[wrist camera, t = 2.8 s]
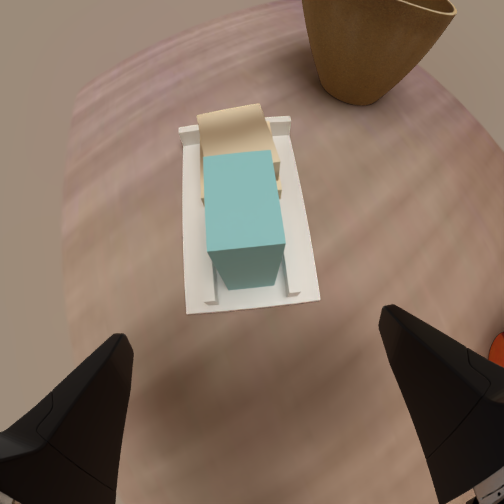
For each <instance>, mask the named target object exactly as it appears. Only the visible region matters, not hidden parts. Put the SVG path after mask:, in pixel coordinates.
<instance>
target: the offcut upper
mask: <svg viewBox="0 0 504 504" xmlns="http://www.w3.org/2000/svg"><path fill="white" fill-rule="evenodd" d="M197 121H198V127H199V133H200V138H201V144H202V150H203V155H204V157H206V156H214V155H222V154H231V153H241V152H251V151H262V150H271V154H272V160H273V166H274V171H275V177H276V181H278V179H279V171H280V162H281V161H280V158H279V156H278V153H277V150H276V147H275V144H274V141H273V139H272V136H271V133H270V130H269V128H268V125H267V122H266V120H265V117H264V114H263V112H262V109H261V106H260V104H259V103H258V104H252V105H246V106H240V107H235V108H229V109H224V110H219V111H214V112H210V113H205V114H201V115H197Z"/></svg>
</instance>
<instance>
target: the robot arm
mask: <svg viewBox="0 0 504 504" xmlns="http://www.w3.org/2000/svg"><path fill="white" fill-rule="evenodd" d="M379 331H380V334H381V337H382V340H383V344H384V347H385V350H386V353H387V357H388V360H389V363H390V366H391V368H392V371H393V373H394V375H395V378H396V380H397V383H398V385H399V388H400V390H401V393H402V395H403V398H404V400H405V403H406V405H407V408H408V410H409V413H410V416H411V418H412V421H413V424H414V426H415V429H416V432H417V435H418V438H419V440H420V443H421V446H422V449H423V452H424V455H425V458H426V459H427V460H426V462H427V465H428V468H429V471H430V474H431V477H432V481H433V484H434V488H435V491H436V495H437V498H438V502H439V504H446V503H448V502H450V501H451V500H453V499H455V498H457V497H459V496H460V495H462V494H464V493H465V492H467V491H469V490H470V489H472V488H473V490H474V492H475V495H476V496H475V497H474V498H472V499H470V500H469V501H467V502H466V504H504V367H502V366H500V365H498V364H496V363H494V362H492V361H490V360H488V359H486V358H484V357H482V356H481V355H479V354H477V353H476V352H474V351H472V350H471V349H469V348H466V346H464V345H462V344H461V343H459V342H457V341H456V340H454V339H452V338H451V337H449V336H447V335H446V334H444V333H442V332H441V331H439V330H437V329H436V328H434V327H432V326H430V325H429V324H427V323H425V322H424V321H422V320H420V319H419V318H417V317H415V316H413V315H412V314H410V313H408V312H407V311H405V310H403V309H401V308H400V307H398V306H396V305H394V304H391V305H386V306H384V307H383V308H382V311H381V316H380V320H379ZM133 357H134V353H133V349H132V347H131V345H130V343H129V341H128V339H127V336H126V335H125V334H123V333H115V334H113V335H112V336H111V337H109V338H108V339H107V340H106V341H105V342H104V343H103V344H102V345H101V346H99V347H98V348H97V349H96V350H95V351H94V352H93V353H92V354H91V355H90V356H89V357H87V358H86V359H85V360H84V361H83V362H82V363H81V364H80V365H79V366H78V367H77V368H76V369H74V370H73V371H72V372H71V373H70V374H69V375H68V376H67V377H66V378H65V379H64V380H63V381H62V382H61V383H59V384H58V385H57V386H56V387H55V388H54V389H53V391H52V392H50V393H49V394H48V395H47V396H46V397H45V398H44V399H42V400H41V401H40V402H39V403H38V404H37V405H36V406H35V407H34V408H32V409H31V410H30V411H29V412H28V413H26V414H25V415H24V416H23V417H21V418H20V419H19V420H18V421H16V422H15V423H14V424H13V425H11V426H10V427H9V428H8V429H6V430H5V431H3V432H0V504H115V502H116V488H117V478H118V469H119V461H120V453H121V445H122V439H123V432H124V426H125V419H126V414H127V408H128V402H129V397H130V390H131V378H132V367H133Z"/></svg>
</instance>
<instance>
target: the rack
mask: <svg viewBox="0 0 504 504" xmlns="http://www.w3.org/2000/svg"><path fill="white" fill-rule="evenodd" d="M265 120H266V121H269V122H270V127H271V132H272V137H273V141H274V144H275V147H276V150H277V153H278V156H279V158H280V161H281V162H280V171H279V175H280V181H281V186H282V193H281V199H279V202H280V208H281V214H282V221H283V227H284V234H285V240H286V245H285V249H284V252H283V256H282V260H281V263H280V267H279V270H278V274H277V278H276V281H275V285H274V286H266V287H257V288H247V289H237V290H228V289H227V287H226V285H225V283H224V282H223V280H222V278H221V276H220V274H219V273H218V271H217V269H216V267H215V265H214V264H213V262H212V260H211V258H210V256H209V255H208V253H207V245H206V226H205V207H204V205H203V202H202V200H201V185H200V133H199V127H198V125H192V126H185V127H179V135H180V138H181V141H182V144H183V256H184V280H185V299H186V314H188V315H192V314H205V313H217V312H228V311H239V310H249V309H258V308H267V307H276V306H284V305H293V304H300V303H308V302H316V301H320V293H319V287H318V280H317V274H316V267H315V261H314V255H313V249H312V244H311V238H310V232H309V227H308V221H307V216H306V211H305V206H304V201H303V196H302V191H301V186H300V181H299V176H298V171H297V167H296V162H295V158H294V153H293V149H292V144H291V140H290V136H289V134H290V127H291V119H290V116H279V117H265Z"/></svg>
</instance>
